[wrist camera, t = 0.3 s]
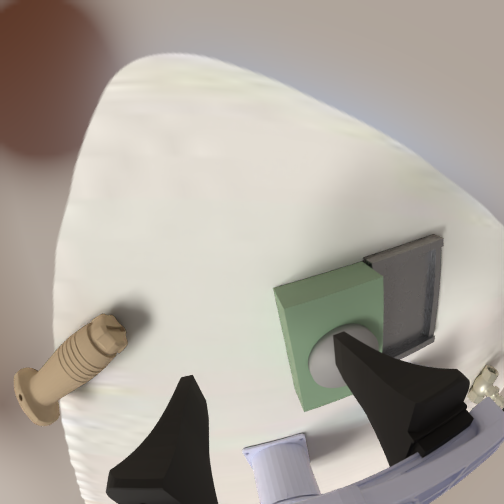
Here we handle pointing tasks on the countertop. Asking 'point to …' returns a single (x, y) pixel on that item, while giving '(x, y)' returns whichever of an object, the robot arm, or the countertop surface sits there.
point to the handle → (68, 368)
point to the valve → (486, 387)
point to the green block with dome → (328, 326)
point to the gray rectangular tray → (409, 294)
